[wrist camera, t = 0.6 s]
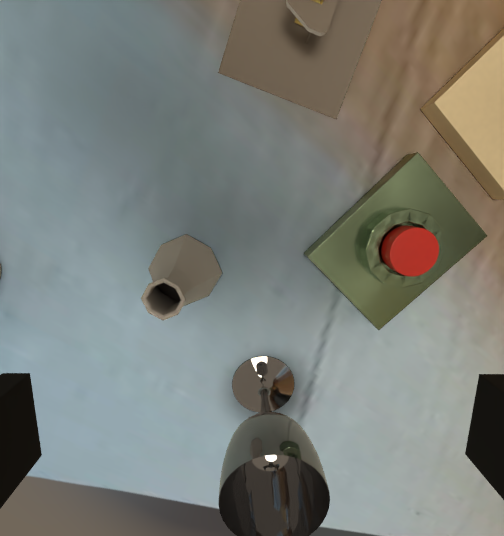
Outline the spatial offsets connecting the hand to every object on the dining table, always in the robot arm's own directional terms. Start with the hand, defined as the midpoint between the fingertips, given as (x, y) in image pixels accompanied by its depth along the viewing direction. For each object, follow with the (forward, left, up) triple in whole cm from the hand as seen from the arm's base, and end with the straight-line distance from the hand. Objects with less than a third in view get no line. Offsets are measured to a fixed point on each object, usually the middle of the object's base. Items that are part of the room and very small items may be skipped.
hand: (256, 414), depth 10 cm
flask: (+2, -6, -26) cm, 27 cm away
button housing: (-2, +15, -26) cm, 30 cm away
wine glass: (+15, +3, -26) cm, 30 cm away
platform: (-24, +5, -26) cm, 36 cm away
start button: (-2, +15, -22) cm, 27 cm away
